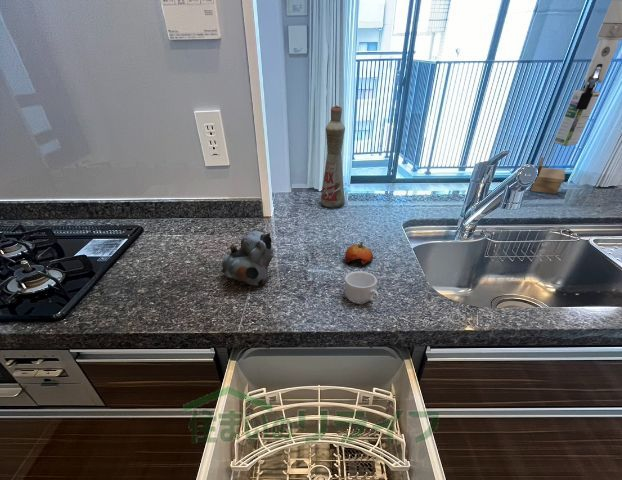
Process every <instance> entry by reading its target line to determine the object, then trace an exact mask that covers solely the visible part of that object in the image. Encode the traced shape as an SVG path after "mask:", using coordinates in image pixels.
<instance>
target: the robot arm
mask: <svg viewBox="0 0 622 480" xmlns="http://www.w3.org/2000/svg"><path fill="white" fill-rule="evenodd" d="M595 39H596V40H599V41H598V43H597V45H596V48H595V50H594V53H593V56H592V58H591V60H590V63H589V65H588V68H587V72H586V74H585V77H584V81H585V82H584V84H583V87H582V89H584V92H583V93H582V94H581V97H580V99H579V102H578V104H577V106H576V109H583V110H585V109H587V107H588V104H589V102H590V100H591V98H592V95H593V92H594V91H595V89H596V87H597V84H602V83H603V82H604V80H605V77H606V74H607V72H608V70H609V68H610V65H611V64H612V63H611V62H612V60H613V58H614V55H615V53H616V52H617V51H616V50H617V48H618V46H619V42H620V40H622V0H611V1H610V3H609V6H608V8H607V11H606V13H605V15H604V18H603V21H602V23H601V26H600V28H599V30H598V33H597V34H596V37H595Z"/></svg>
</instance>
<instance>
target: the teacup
mask: <svg viewBox="0 0 622 480" xmlns="http://www.w3.org/2000/svg"><path fill="white" fill-rule="evenodd" d="M377 284H378V278H377V277H376V276H375V275H374V274H372V273H370V272H368V271H362V270H361V271H360V270H357V271H352V272H351V271H350V272H349V273H347V274H346V275H345V277H344V294H345V296H346V298H347V299H348V301H350V302H351V303H354V304H356V305H363V304H366V303H369V302H376V301H378V300H379V297H380V295H379V292H378V291H377V290H376V289H377ZM374 295H376V297H375V298H374ZM353 301H354V302H353ZM366 301H367V302H366ZM357 302H364V303H357Z"/></svg>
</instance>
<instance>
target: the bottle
mask: <svg viewBox="0 0 622 480" xmlns="http://www.w3.org/2000/svg"><path fill="white" fill-rule="evenodd" d="M342 113H343V108H342V107H341V106H339V105H338V104H335V106H331V108H330V120H329V122H328V123H327V124H326V127H325V135H326V136H325V138H326V149H327V150H326V151H327V154H326V159H325V166H324V173H323V181H322V187H321V195H320V204H321V205H322V206H323V207H326V208H330V209H331V208H340V207H342V206H344V204H345V201H346V198H345V188H344V175H343V174H344V173H343V160H342V151H343V145H344V137H345V131H346V127H345V125H344V123H343V122H342Z"/></svg>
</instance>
